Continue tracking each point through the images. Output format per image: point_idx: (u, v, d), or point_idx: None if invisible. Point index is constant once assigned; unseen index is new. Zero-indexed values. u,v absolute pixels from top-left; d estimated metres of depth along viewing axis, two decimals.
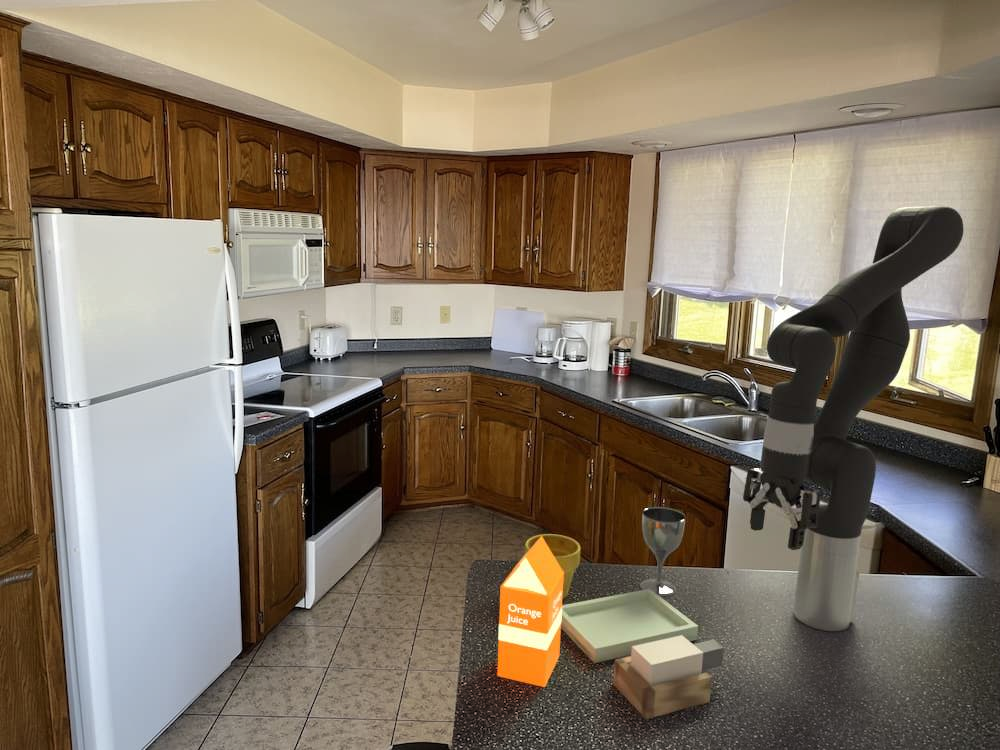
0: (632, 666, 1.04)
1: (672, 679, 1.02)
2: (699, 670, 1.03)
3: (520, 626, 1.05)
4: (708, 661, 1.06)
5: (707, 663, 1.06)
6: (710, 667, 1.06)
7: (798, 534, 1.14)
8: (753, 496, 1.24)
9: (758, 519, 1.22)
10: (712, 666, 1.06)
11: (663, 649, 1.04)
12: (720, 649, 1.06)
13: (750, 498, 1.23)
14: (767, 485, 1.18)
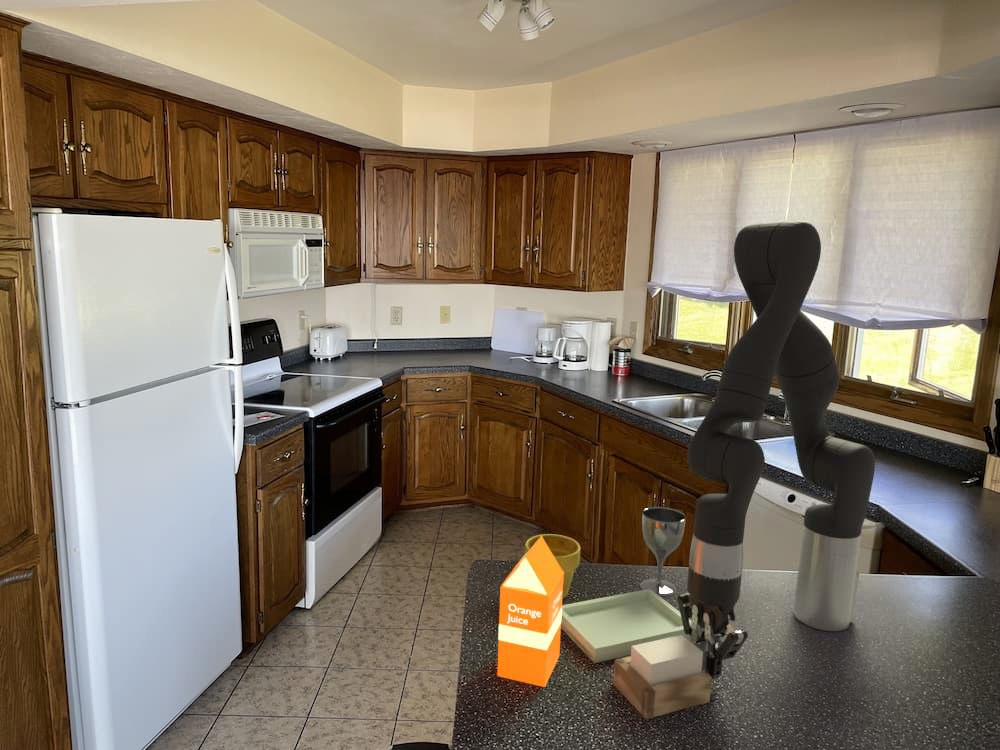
0: (632, 666, 1.04)
1: (671, 679, 1.02)
2: (699, 669, 1.03)
3: (520, 626, 1.05)
4: None
5: None
6: None
7: (715, 664, 1.04)
8: None
9: None
10: None
11: (663, 648, 1.04)
12: None
13: (691, 629, 1.09)
14: (695, 607, 1.06)
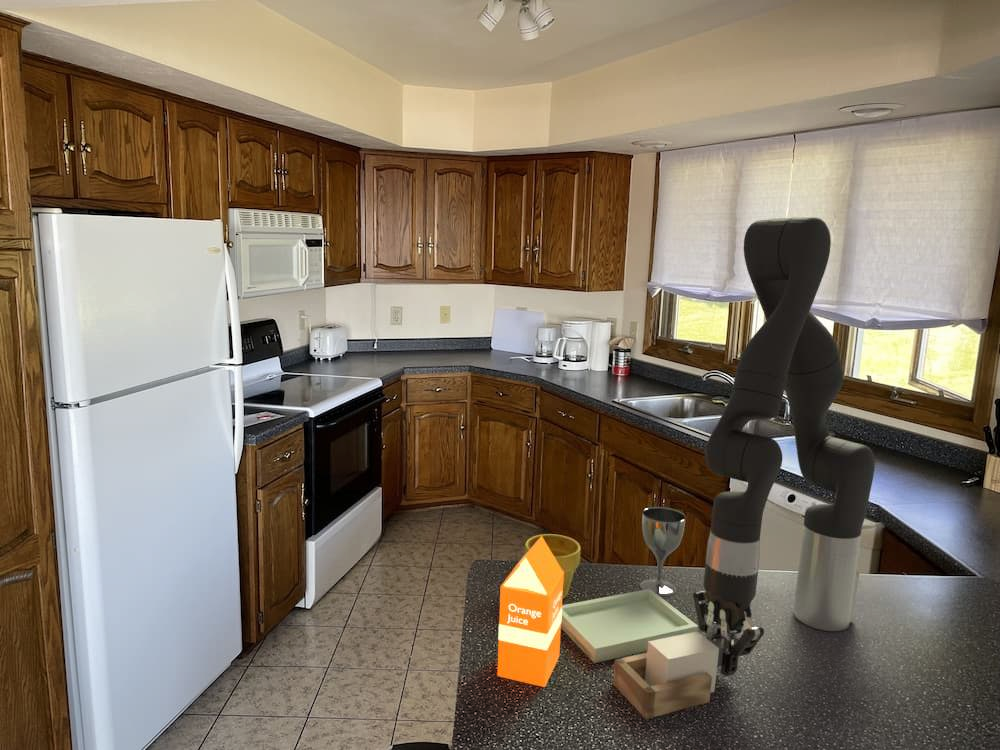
0: (648, 661, 1.05)
1: (688, 674, 1.02)
2: (715, 666, 1.04)
3: (520, 626, 1.05)
4: None
5: None
6: None
7: (730, 660, 1.05)
8: None
9: None
10: None
11: (679, 644, 1.05)
12: None
13: (706, 626, 1.10)
14: (711, 604, 1.07)
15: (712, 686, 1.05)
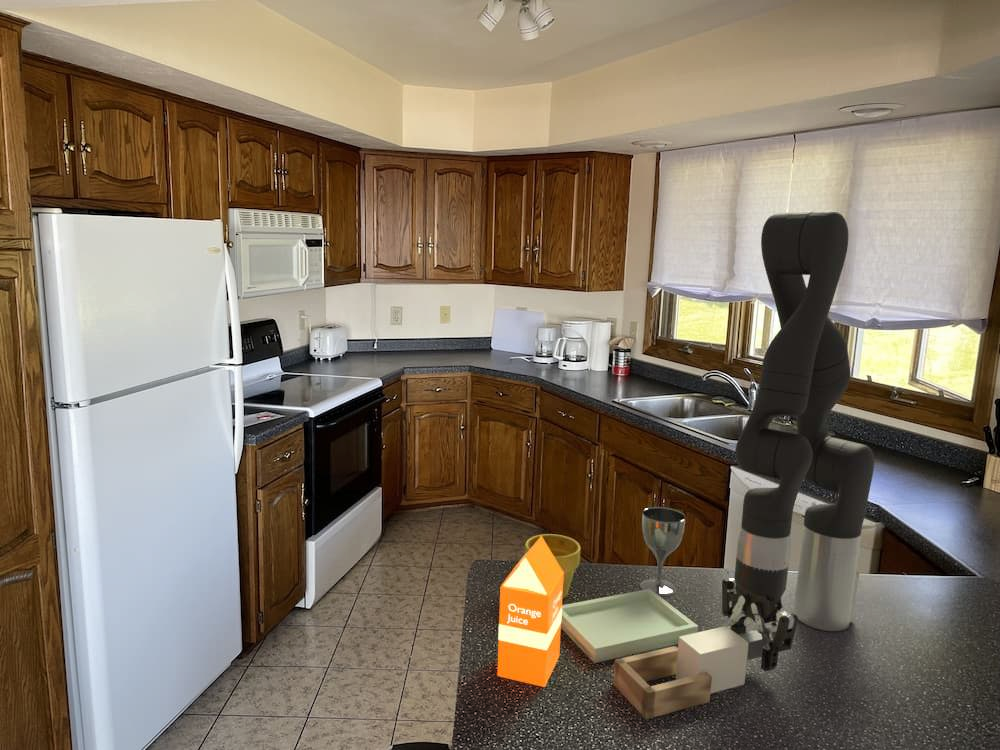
0: (679, 656, 1.07)
1: (719, 668, 1.05)
2: (745, 659, 1.06)
3: (520, 626, 1.05)
4: (752, 651, 1.09)
5: (751, 653, 1.09)
6: (754, 657, 1.09)
7: (771, 656, 1.06)
8: (732, 609, 1.14)
9: None
10: (756, 656, 1.09)
11: (709, 639, 1.07)
12: None
13: (729, 612, 1.14)
14: (742, 598, 1.09)
15: (742, 679, 1.07)
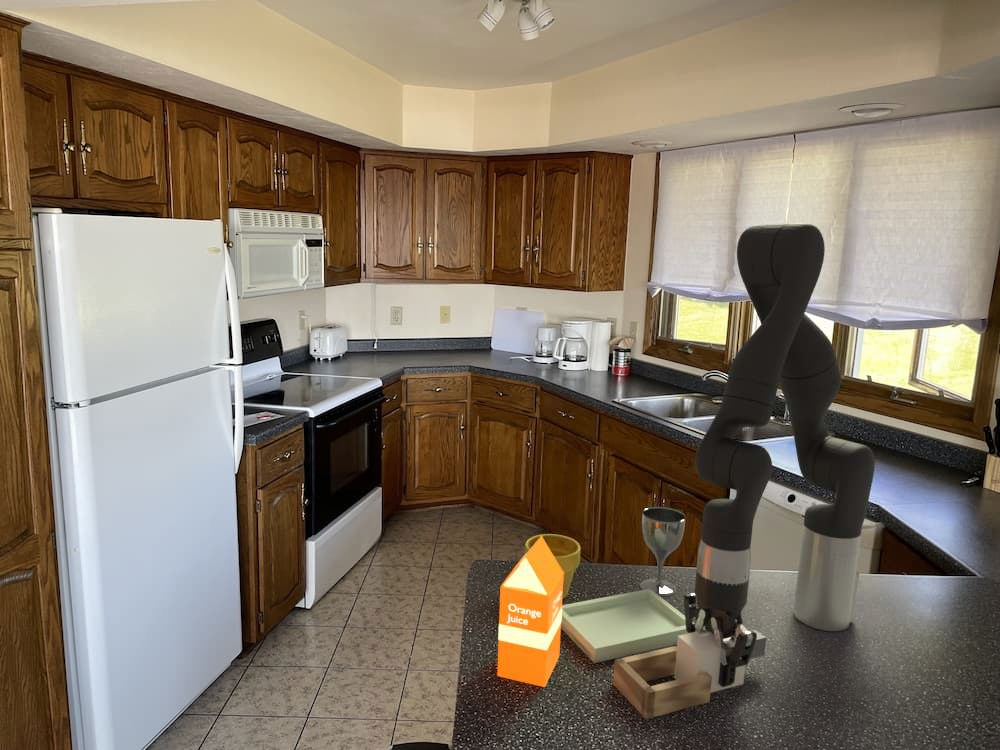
0: (678, 655, 1.07)
1: (717, 667, 1.05)
2: None
3: (520, 626, 1.05)
4: None
5: None
6: (753, 656, 1.09)
7: (728, 671, 1.04)
8: None
9: None
10: (755, 655, 1.09)
11: (708, 638, 1.07)
12: (762, 639, 1.09)
13: (693, 628, 1.11)
14: (702, 612, 1.07)
15: (741, 679, 1.07)
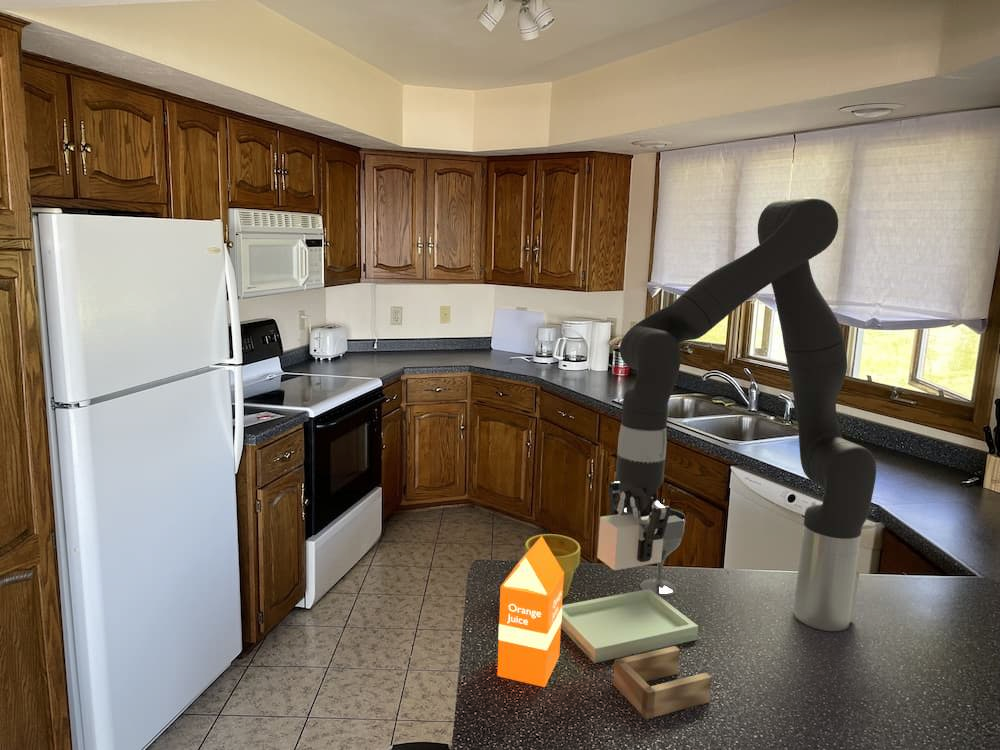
0: (600, 535, 1.14)
1: (636, 544, 1.12)
2: None
3: (520, 626, 1.05)
4: (670, 532, 1.16)
5: (669, 533, 1.16)
6: (671, 538, 1.16)
7: (645, 546, 1.11)
8: None
9: None
10: (673, 537, 1.16)
11: (628, 518, 1.14)
12: (680, 522, 1.17)
13: (616, 513, 1.18)
14: (623, 494, 1.14)
15: (659, 557, 1.14)
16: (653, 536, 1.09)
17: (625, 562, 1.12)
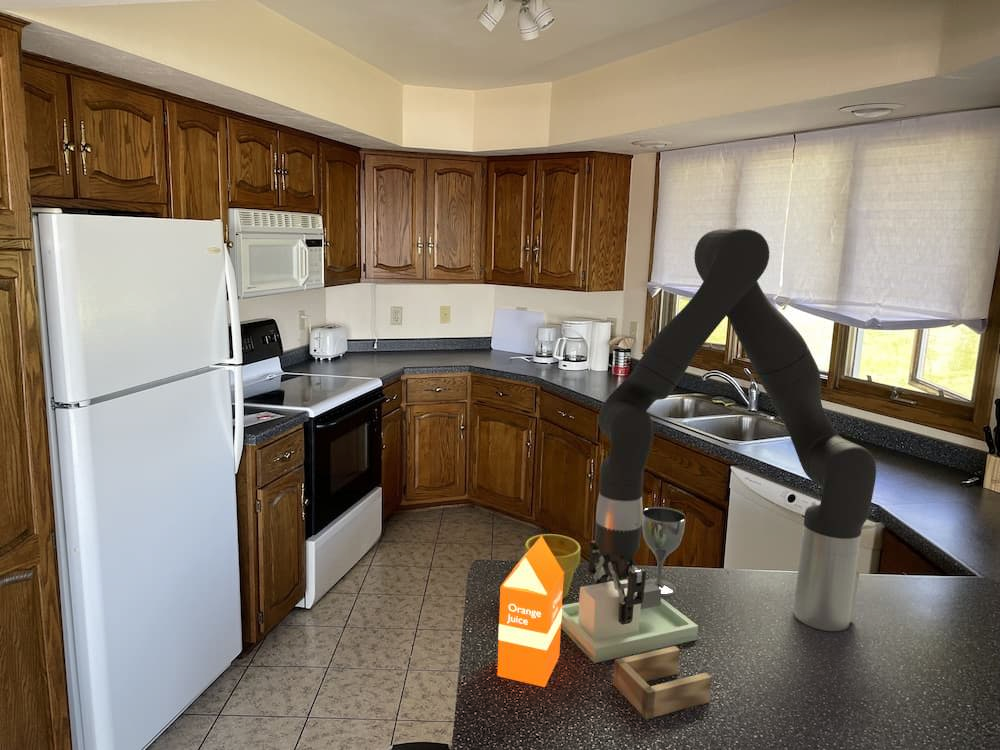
0: (580, 604, 1.20)
1: (613, 614, 1.17)
2: (638, 607, 1.19)
3: (520, 626, 1.05)
4: (647, 600, 1.21)
5: (646, 602, 1.21)
6: (649, 606, 1.21)
7: (626, 609, 1.15)
8: None
9: None
10: (651, 605, 1.22)
11: (607, 589, 1.19)
12: (658, 591, 1.22)
13: (594, 570, 1.24)
14: (602, 558, 1.19)
15: (637, 625, 1.19)
16: (633, 601, 1.13)
17: (603, 632, 1.17)
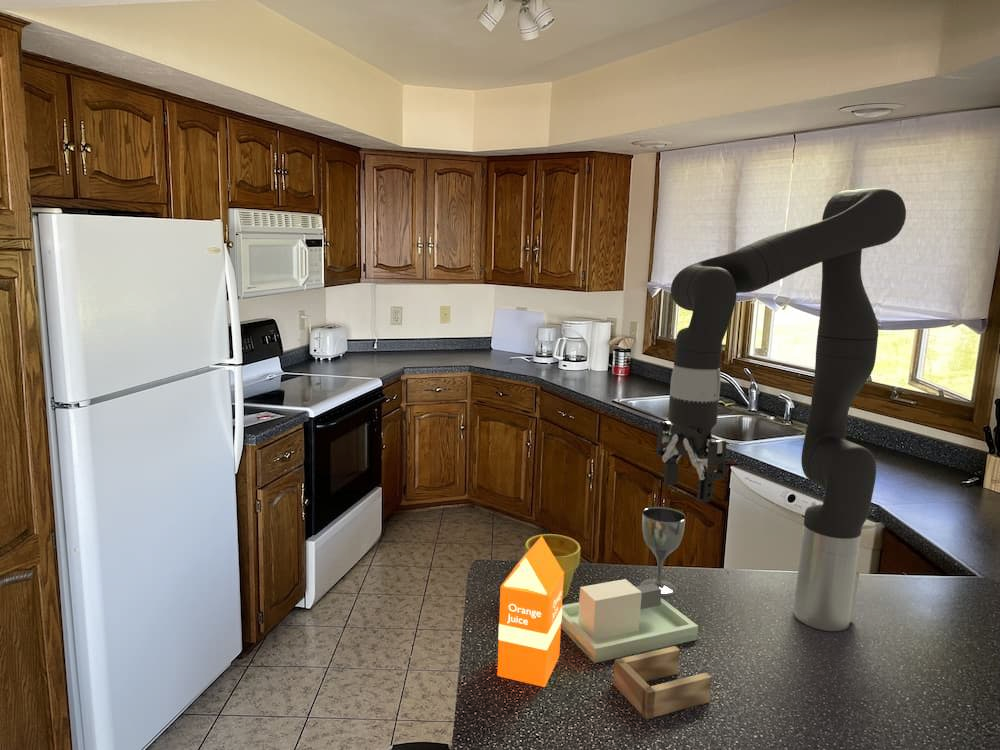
0: (580, 604, 1.20)
1: (613, 614, 1.17)
2: (638, 607, 1.19)
3: (520, 626, 1.05)
4: (647, 600, 1.21)
5: (646, 602, 1.21)
6: (649, 606, 1.21)
7: (706, 486, 1.08)
8: (666, 450, 1.18)
9: (671, 473, 1.17)
10: (651, 605, 1.22)
11: (607, 589, 1.19)
12: (658, 591, 1.22)
13: (663, 452, 1.18)
14: (676, 436, 1.13)
15: (637, 625, 1.19)
16: (715, 474, 1.06)
17: (603, 632, 1.17)
